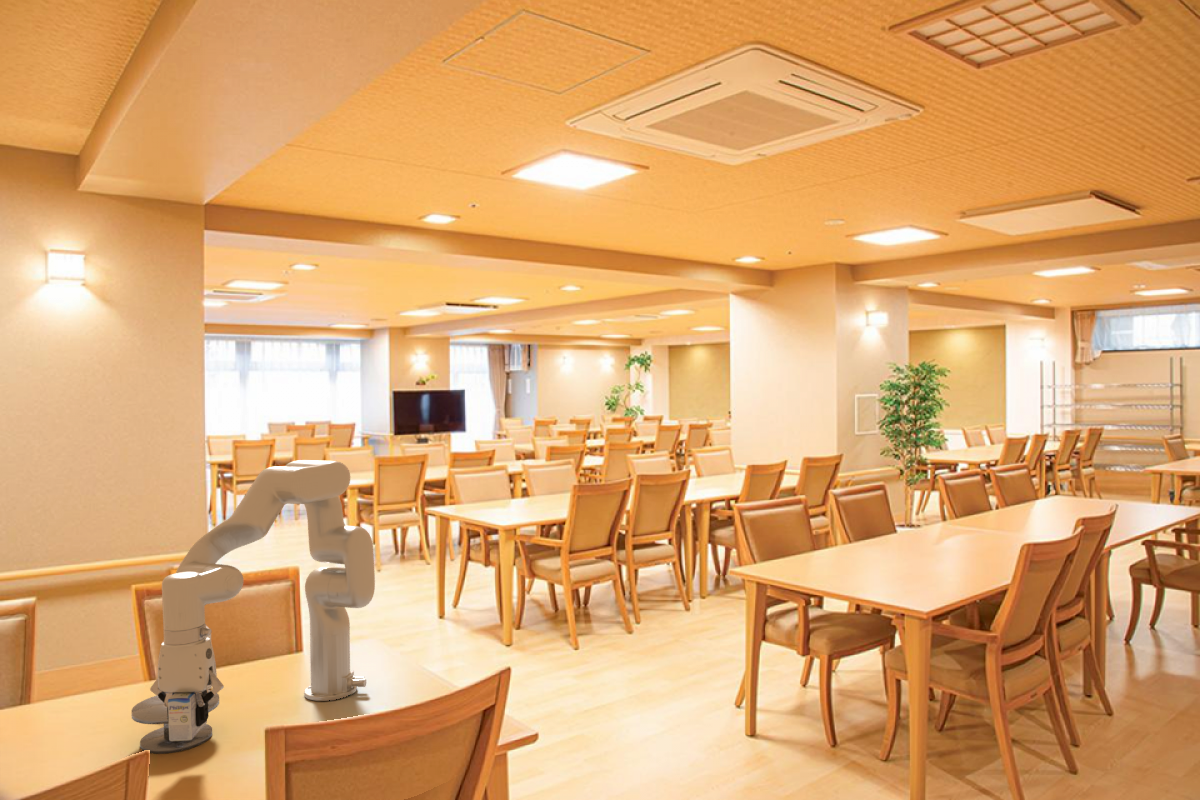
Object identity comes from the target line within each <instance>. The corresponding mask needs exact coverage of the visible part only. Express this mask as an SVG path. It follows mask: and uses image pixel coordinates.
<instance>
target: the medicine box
mask: <svg viewBox="0 0 1200 800" xmlns="http://www.w3.org/2000/svg"><path fill="white" fill-rule="evenodd" d="M197 706H198V703H197V700H196V697H195V694H194V693H174V694H173V695H172V696H171V697H170V698H169V699H168V716H169V740H170V741H187V740H192V739H193V737H194V736H195V735H196V734H197V733H198V732H199V731H200V730H201V729H202V728H203V726H204V725H205V724H207V723H208V720H207V721H206V722H205V723H204V724H202V725H201V726H196V710H195V709H196V707H197Z"/></svg>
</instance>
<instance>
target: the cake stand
mask: <svg viewBox="0 0 1200 800" xmlns="http://www.w3.org/2000/svg"><path fill="white" fill-rule="evenodd" d="M208 691H211V690H210V689H209V690H208ZM219 704H220V694H219V693H217V694H215V695H214V696H213V698H212V699H211V700H210V701H209V702H208V714H209V713H210V712H212V711H213V710H216V708H217V707H218V706H219ZM131 719H132V721H134V722H136V723H139V724H144V725H163V727H160V728H157V729H154V730H152V731H150V732H148V733H146V734H145V735H144V736H143V737H142V738H141V739H140V742H139V748H140V750H141V749H142V750H141V751H142V752H144V750H150V753H149V754H152V753H153V754H154V755H157V754H158V755H163V754H164V755H165V754H172V753H179V752H185V751H187V750H191V749H193V748H196V747H199V746H201V745H202V744H204V743H207V742H208V741H209V740H211V738H212V736H213V727H212V726H211V725H210V724H207V723H206V724H205V725H204V726H203V728H202V729H201V730H200V731H199V732H198V733H197V734H196V735H195V736H194V737H193V739H192V740H187V741H170V740H169V721H168V715H167V707H165V706H164V702H163V701H162V700H161V699H159V697H158V695H154V696H152V697H151V696H150V697H148V698H146V699H143V700H141V701H140V702H138V703H136V704H135V705H134V706H133V707H132V708H131ZM153 754H152V755H153Z"/></svg>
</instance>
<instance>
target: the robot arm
mask: <svg viewBox="0 0 1200 800" xmlns="http://www.w3.org/2000/svg"><path fill="white" fill-rule="evenodd" d="M350 484H351V472H350V470H349V468H348V467H347V466H346V464H344V463H343V462H341V461H337V460H311V459H302V460H301V459H299V460H293V461H290V462H288V463H286V464H285V466H269V467H267V468H264V469H263V470H261V471H260V472H259V473H258V475H257V476H256V478H255V479H254V481H253V482H252V483H251V485H250V487H249V488H248V490H247V492H246V493H245V495H244V496H243V498H242V500H241V501H240V502H239V504H238V505H237V507H236V508H235V510H234V511H233V512H232V514H231V515H230V517H228V518H227V519H225V520H224V521H222V522H221V523H219V524H218V525H216V526H215V527H214V528H212V529H211V530H209V531H208V532H207V533H206V534H204V535H203V536H201V537H200V538H199V539H198V540H197V541H196V542H195V543H194V544H193V545H192V547H190V549H188V551H187V554H186V555H185V556H184V558H183V559H182V561H181V562H180V564H179V566H178V567H177V569H176V571H175V573H173V574H169V575H167V576H165V577H164V578H163V580H162V582H161V593H162V594H161V597H162V598H161V600H162V601H161V602H162V624H163V626H162V627H163V641H162V643H161V644H160V649H159V654H158V655H159V656H158V662H157V678H156V679H155V681H154V682H153V684H152V685H151V686H150V687H149V690H150V691H151V692H152V693H153V694H154V696H157V695H158V697H159V699H161V700H162V701H163V702H164V706H165V707H167V715H168V699H169V698H170V697H171V696H172V695H173V694H174V693H194V694H195V697H196V700H197V703H198V706H197V707H196V709H195V710H196V726H201V725H202V724H204V723H205V722H206V721H207V722H208V719H209V713H208V702H209V701H210V700H211V699H212V698H213V696H214V695H215V694H219V692H220V691H222V690H223V689H224V688H225V687H224V686H225V685H224V684H223V683H222V682H221V680H220V679H219V678H218V677H217V676H218V675H217V664H216V658H215V657H216V656H215V652H214V648H213V644H212V639H211V640H210V638H206V636H207V635H211V636H212V632H213V631H212V628H210V629H208V628H209V627H208V628H206V626H207V624H206V615H205V613H206V612H205V606H206V605H209V604H214V603H222V602H223V603H224V602H226V601H229V600H231V599H233V598H235V597H236V596H237V595H239V593H240V591H242V588H243V585H244V575H243V573H242V572H241V570H240V569H238V568H237V567H235V566H232V565H229V564H220V563H218V564H217V562H218V561H220V560H221V559H222V557H224V556H225V555H227V554H228V553H230V552H232V551H234V550H237V549H239V548H242V547H244V546H247V545H250V544H252V543H255V542H257V541H259V540H261V539H263V538H264V537H266V535H267V534H268V533H269V531H270V530H271V528H272V526H273V525H274V523H275V521H276V519H277V517H279V514H280V512H282V510H283V508H284V507H285V505H287V504H289V505H290V504H291V505H303V506H304V507H305V511H306V519H307V531H308V547H309V548H308V549H309V553H310V556H311V558H312V559H313V560H315V562H319V563H325V564H337V565H344V567H342V566H341V567H340V566H339V567H338V566H320V567H317V568H314V569H313V570H312V571H311V572H310V573H309V574H308V575H307V577H306V580H305V583H304V593H305V598H306V603H307V607H308V613H309V641H310V642H309V643H310V644H309V646H310V647H309V649H310V650H309V651H310V652H309V653H310V654H309V655H310V656H309V658H310V659H309V661H310V662H309V663H310V685H308V686H307V687H306V688H305V689H304V693H303V694H304V695H303V696H304V697H305V698H306V699H308V700H309V701H317V702H327V701H329V700H330V701H336V699H337V700H340V698H341V699H344V698H347V697H349V696H348V695H350V694H351V695H353V694H354V693H355V692H356V691H357V690H356V689H358V688H366V686H367V679H366V677H365V676H356V675H355V671H354V670H351V648H350V647H351V645H350V643H351V640H350V639H351V637H350V635H351V633H350V628H351V626H350V617H349V614H348V611H347V609H348V608H350V609H361V608H364V607H367V606H368V605H369V604H370V603H371V601H372V599H373V597H374V594H375V587H376V586H375V585H376V577H375V558H374V556H375V555H374V554H375V553H374V545H373V543H374V542H373V539H372V537H371V535H370V532H368V530H367V529H365V527H364V528H363V527H362V526H357V525H346V524H345V522H344V513H343V512H344V511H343V505H342V502H341V501H342V500H341V499H340V496H341V495H343V494H344V493H345V492H346V490H348V489H349V486H350ZM346 608H347V609H346ZM207 685H211V686H212V688H211V690H210V691H208V688H207ZM351 695H350V696H351ZM346 696H347V697H346ZM343 697H344V698H343ZM330 701H329V702H330ZM168 721H169V716H168Z"/></svg>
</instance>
